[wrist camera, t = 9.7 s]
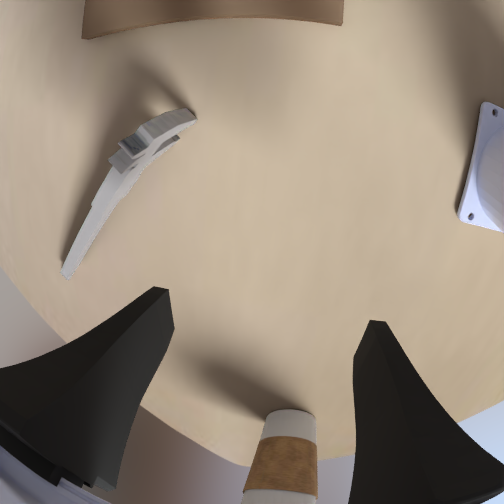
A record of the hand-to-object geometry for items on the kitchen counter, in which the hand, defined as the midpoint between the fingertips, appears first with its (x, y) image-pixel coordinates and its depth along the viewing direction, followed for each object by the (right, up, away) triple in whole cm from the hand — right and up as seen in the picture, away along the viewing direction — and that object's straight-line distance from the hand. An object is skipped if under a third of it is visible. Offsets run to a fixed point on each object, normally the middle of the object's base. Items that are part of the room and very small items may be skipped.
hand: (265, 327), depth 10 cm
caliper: (-11, +6, +11) cm, 16 cm away
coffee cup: (+4, -17, +21) cm, 27 cm away
